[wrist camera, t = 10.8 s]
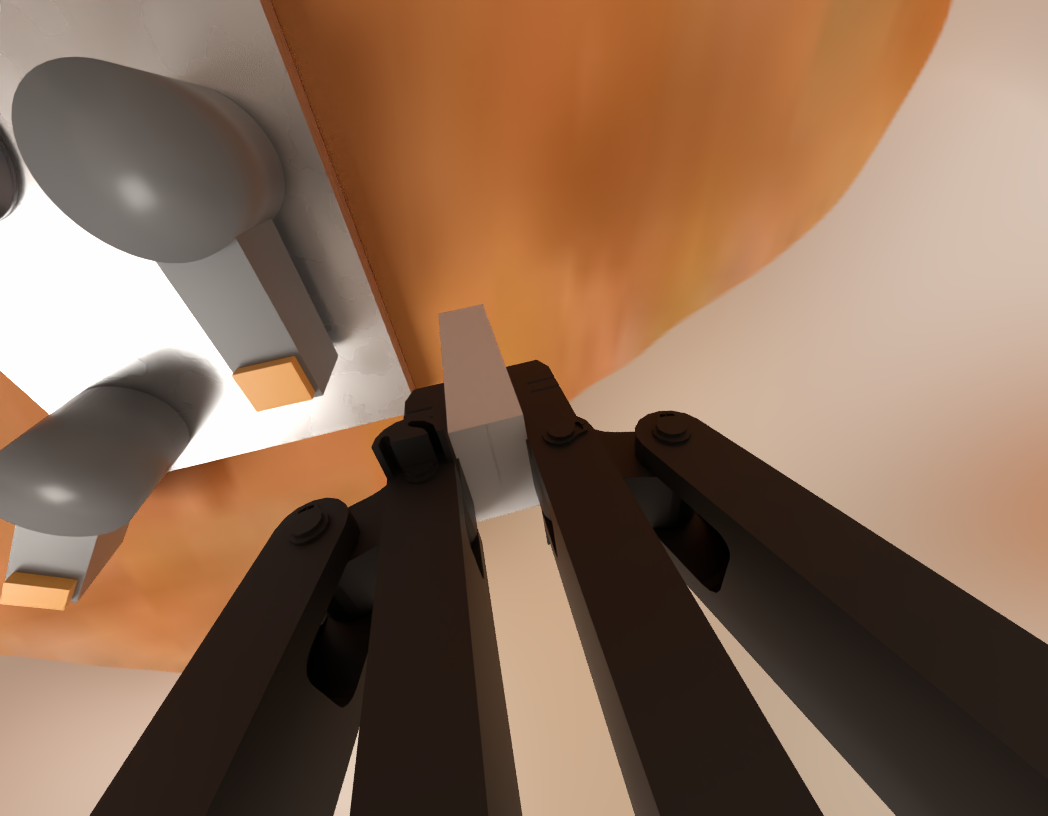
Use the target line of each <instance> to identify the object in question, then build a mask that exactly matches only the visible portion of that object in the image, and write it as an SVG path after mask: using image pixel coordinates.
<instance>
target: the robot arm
mask: <svg viewBox="0 0 1048 816" xmlns="http://www.w3.org/2000/svg"><path fill="white" fill-rule="evenodd" d="M439 326H440V339H441V351H442V364H443V377H444V383H441V384H437V385H433V386H428V387H424V388H420V389H415V390H413V391H412V393H411V394H410V395H409V397H408V398H407V400H406V401H405V408H404V415H405V416H404V420H401V421H399V422H396V423H394V424H393V425H391V426H389V427H388V428H386V429H384V430H383V431H382V432H381V433H380V434H379V435H378V436H377V437H376V438H375V441H374V443H373V445H372V447H371V448H372V450H373V452H374V454H375V456H376V458H377V460H378V462H379V464H380V465H381V467H382V469H383V471H384V473H385V475H386V477H387V485H386V486H385V487H384V488H382V489H381V490H380V491H378V492H377V493H375V494H373V495H372V496H370V497H368V498H366V499H364V500H362V501H360V502H358V503H356V504H354V505H352V506H350V507H347V505H346V504H345V503H343V502H342V501H341V500H339V499H335V498H323V499H319V500H314V501H311V502H309V503H307V504H305V505H303V506H301V507H299V508H298V509H296V510H295V511H294V512H292V513H291V514H290V515H288V516H287V517H286V518H285V519H284V520H283V521H282V522H281V523H280V525H279V526H278V527H277V528H276V529H275V531H274V532H273V534H272V535H271V537H270V539H269V540H268V542H267V543H266V545H265V546H264V548H263V549H262V551H261V552H260V554H259V555H258V557H257V559H256V560H255V562H254V563H253V565H252V566H251V568H250V569H249V571H248V572H247V574H246V575H245V577H244V579H243V580H242V582H241V583H240V585H239V586H238V588H237V589H236V591H235V592H234V594H233V596H232V597H231V599H230V600H229V602H228V603H227V605H226V606H225V608H224V609H223V611H222V612H221V614H220V616H219V617H218V619H217V620H216V622H215V623H214V625H213V626H212V628H211V629H210V631H209V632H208V634H207V636H206V637H205V639H204V640H203V642H202V643H201V645H200V646H199V648H198V649H197V651H196V652H195V654H194V656H193V657H192V659H191V660H190V662H189V663H188V665H187V666H186V668H185V669H184V671H183V673H182V674H181V676H180V677H179V679H178V680H177V682H176V683H175V685H174V686H173V688H172V690H171V691H170V693H169V694H168V696H167V697H166V699H165V700H164V702H163V703H162V705H161V706H160V708H159V709H158V711H157V713H156V714H155V716H154V717H153V719H152V720H151V722H150V723H149V725H148V726H147V728H146V730H145V731H144V733H143V734H142V736H141V737H140V739H139V740H138V742H137V744H136V745H135V747H134V748H133V750H132V751H131V753H130V754H129V756H128V757H127V759H126V760H125V762H124V763H123V765H122V767H121V768H120V770H119V771H118V773H117V774H116V776H115V777H114V779H113V780H112V782H111V784H110V785H109V787H108V788H107V790H106V791H105V793H104V794H103V796H102V797H101V799H100V800H99V802H98V803H97V805H96V807H95V808H94V810H93V811H92V813H91V814H90V816H333V815H334V811H335V808H336V805H337V801H338V798H339V794H340V791H341V788H342V784H343V781H344V778H345V774H346V771H347V767H348V764H349V760H350V757H351V754H352V750H353V746H354V744H355V740H356V737H357V733H358V730H359V737H358V746H357V757H356V764H355V773H354V782H353V791H352V800H351V809H350V816H522V810H521V803H520V797H519V790H518V783H517V776H516V770H515V763H514V756H513V749H512V742H511V736H510V729H509V722H508V715H507V709H506V702H505V695H504V688H503V681H502V675H501V667H500V661H499V654H498V647H497V641H496V634H495V627H494V620H493V613H492V606H491V599H490V593H489V586H488V579H487V572H486V565H485V559H484V552H483V545H482V540H481V537H480V535H479V532H478V529H477V523H476V517H477V520H478V522H479V521H483V520H487V519H490V518H494V517H498V516H502V515H505V514H509V513H513V512H517V511H520V510H524V509H528V508H531V507H535V506H539V503H540V506H541V509H542V514H543V519H544V526H545V531H546V537H547V542H548V545H549V544H551V548H552V551H553V554H554V557H555V560H556V564H557V567H558V570H559V573H560V576H561V579H562V583H563V586H564V589H565V592H566V596H567V599H568V602H569V605H570V608H571V612H572V615H573V618H574V621H575V624H576V628H577V631H578V634H579V637H580V640H581V643H582V647H583V650H584V653H585V656H586V660H587V663H588V666H589V669H590V672H591V676H592V679H593V682H594V685H595V688H596V691H597V695H598V698H599V701H600V704H601V708H602V711H603V714H604V717H605V720H606V724H607V726H608V730H609V733H610V736H611V740H612V743H613V746H614V749H615V752H616V756H617V759H618V762H619V765H620V768H621V771H622V775H623V778H624V781H625V784H626V788H627V791H628V794H629V797H630V800H631V803H632V807H633V810H634V813H635V816H824V815H823V813H822V812H821V810H820V808H819V807H818V805H817V803H816V802H815V800H814V798H813V797H812V795H811V793H810V792H809V790H808V788H807V787H806V785H805V783H804V782H803V780H802V778H801V777H800V775H799V773H798V771H797V770H796V768H795V766H794V765H793V763H792V761H791V760H790V758H789V756H788V755H787V753H786V751H785V750H784V748H783V746H782V745H781V743H780V741H779V740H778V738H777V736H776V735H775V733H774V731H773V729H772V728H771V726H770V724H769V723H768V721H767V719H766V718H765V716H764V714H763V713H762V711H761V709H760V708H759V706H758V704H757V703H756V701H755V699H754V697H753V696H752V694H751V692H750V691H749V689H748V688H747V686H746V684H745V682H744V681H743V679H742V677H741V676H740V674H739V672H738V671H737V669H736V667H735V666H734V664H733V662H732V660H731V659H730V657H729V655H728V654H727V653H726V650H725V649H724V647H723V645H722V644H721V642H720V640H719V639H718V637H717V635H716V634H715V632H714V630H713V629H712V627H711V625H710V623H709V622H708V620H707V618H706V617H705V615H704V613H703V612H702V610H701V608H700V607H699V605H698V603H697V602H696V600H695V598H694V597H693V595H692V593H691V592H690V590H689V588H690V589H691V590H692V591H693V592H694V593H695V595H696V596H697V597H698V598H699V599H700V600H701V601H702V602H703V603H704V604H705V606H706V607H707V608H708V609H709V610H710V611H711V612H712V613H713V614H714V615H715V617H716V618H717V619H718V620H719V621H720V622H721V623H722V624H723V625H724V626H725V628H726V629H727V630H728V631H729V632H730V633H731V634H732V635H733V636H734V637H735V639H736V640H737V641H738V642H739V643H740V644H741V645H742V646H743V647H744V648H745V650H746V651H747V652H748V653H749V654H750V655H751V656H752V657H753V658H754V660H755V661H756V662H757V663H758V664H759V665H760V666H761V667H762V668H763V669H764V671H765V672H766V673H767V674H768V675H769V676H770V677H771V678H772V679H773V681H774V682H775V683H776V684H777V685H778V686H779V687H780V688H781V689H782V690H783V692H784V693H785V694H786V695H787V696H788V697H789V698H790V699H791V700H792V701H793V703H794V704H795V705H796V706H797V707H798V708H799V709H800V710H801V711H802V712H803V714H804V715H805V716H806V717H807V718H808V719H809V720H810V721H811V722H812V723H813V725H814V726H815V727H816V728H817V729H818V730H819V731H820V732H821V733H822V734H823V736H824V737H825V738H826V739H827V740H828V741H829V742H830V743H831V744H832V746H833V747H834V748H835V749H836V750H837V751H838V752H839V753H840V754H841V755H842V757H843V758H844V759H845V760H846V761H847V762H848V763H849V764H850V765H851V766H852V768H853V769H854V770H855V771H856V772H857V773H858V774H859V775H860V776H861V777H862V778H863V780H864V781H865V782H866V783H867V784H868V785H869V786H870V787H871V788H872V790H873V791H874V792H875V793H876V794H877V795H878V796H879V797H880V798H881V800H882V801H883V802H884V803H885V804H886V805H887V806H888V807H889V808H890V809H891V811H892V812H894V814H895V815H896V816H1048V644H1046V643H1045V642H1043V641H1041V640H1040V639H1038V638H1037V637H1035V636H1034V635H1032V634H1031V633H1029V632H1027V631H1026V630H1024V629H1023V628H1021V627H1020V626H1018V625H1017V624H1015V623H1013V622H1012V621H1010V620H1009V619H1007V618H1006V617H1004V616H1003V615H1001V614H1000V613H998V612H996V611H995V610H993V609H992V608H990V607H989V606H987V605H986V604H984V603H983V602H981V601H979V600H978V599H976V598H975V597H973V596H972V595H970V594H969V593H967V592H965V591H964V590H962V589H961V588H959V587H958V586H956V585H954V584H953V583H951V582H950V581H948V580H947V579H945V578H944V577H942V576H941V575H939V574H937V573H936V572H934V571H933V570H931V569H930V568H928V567H927V566H925V565H923V564H922V563H920V562H919V561H917V560H916V559H914V558H912V557H911V556H910V555H908V554H906V553H905V552H903V551H902V550H900V549H899V548H897V547H896V546H894V545H892V544H891V543H889V542H888V541H886V540H885V539H883V538H882V537H880V536H878V535H877V534H875V533H874V532H872V531H871V530H869V529H867V528H866V527H864V526H863V525H861V524H860V523H858V522H857V521H855V520H854V519H852V518H851V517H849V516H847V515H846V514H844V513H843V512H841V511H840V510H838V509H837V508H835V507H833V506H832V505H830V504H829V503H827V502H826V501H824V500H823V499H821V498H819V497H818V496H816V495H815V494H813V493H812V492H810V491H809V490H807V489H805V488H804V487H802V486H801V485H799V484H798V483H796V482H794V481H793V480H791V479H790V478H788V477H787V476H785V475H784V474H782V473H781V472H779V471H777V470H776V469H774V468H773V467H771V466H770V465H768V464H767V463H765V462H764V461H762V460H760V459H759V458H757V457H756V456H754V455H753V454H751V453H750V452H748V451H746V450H745V449H743V448H742V447H740V446H739V445H737V444H736V443H734V442H733V441H731V440H729V439H728V438H726V437H725V436H723V435H722V434H720V433H719V432H717V431H715V430H714V429H712V428H711V427H709V426H707V425H706V424H704V423H703V422H701V421H700V420H698V419H697V418H694V417H692V416H690V415H688V414H686V413H680V412H675V411H658V412H655V413H651V414H648V415H646V416H645V417H643V418H642V419H640V420H639V421H638V424H637V425H636V427H635V432H603V431H599V430H595V429H594V428H593V427H592V426H591V425H590V424H589V423H588V422H587V421H586V420H585V419H582V418H580V417H578V416H576V414H575V413H574V411H573V409H572V408H571V406H570V404H569V402H568V400H567V398H566V397H565V395H564V393H563V391H562V390H561V388H560V387H559V384H558V383H557V381H556V379H555V378H554V375H553V374H552V372H551V370H550V368H549V367H548V366H547V365H545V364H543V363H541V362H540V361H538V360H534V361H529V362H525V363H521V364H517V365H512V366H508V367H505V364H504V361H503V358H502V356H501V353H500V350H499V348H498V345H497V342H496V339H495V337H494V334H493V331H492V328H491V326H490V323H489V320H488V318H487V315H486V312H485V309H484V307H483V304H481V305H477V306H472V307H467V308H463V309H458V310H454V311H449V312H444V313H440V314H439ZM475 514H476V515H475ZM687 586H688V587H689V588H688V587H687ZM359 727H360V728H359Z"/></svg>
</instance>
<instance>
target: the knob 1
mask: <svg viewBox="0 0 1048 816" xmlns="http://www.w3.org/2000/svg"><path fill="white" fill-rule="evenodd" d="M11 120H12V127H13V133H14V137H15V140H16V143H17V147H18V149H19V152H20V154H21V156H22V158H23V161H24V163H25V164H26V166H27V168H28V170H29V171H30V173H31V175H32V177H33V178H34V179H35V181H36V182H37V184H38V185H39V186H40V188H41V189H42V190H43V192H44V193H45V194H46V195H47V196H48V197H49V199H50V200H51V201H52V202H53V203H54V204H55V205H56V206H57V207H58V208H59V209H60V210H61V211H62V212H63V213H64V214H65V215H66V216H67V217H69V218H70V219H71V220H72V221H73V222H75V223H76V224H77V225H78V226H80V227H81V228H82V229H84V230H85V231H87V232H88V233H89V234H91V235H92V236H94V237H96V238H97V239H99V240H101V241H102V242H104V243H106V244H108V245H110V246H112V247H114V248H116V249H118V250H120V251H123V252H125V253H127V254H130V255H133V256H136V257H139V258H142V259H146V260H151V261H155V262H156V264H157V265H158V266H159V268H160V269H161V271H162V272H163V274H164V275H165V277H166V278H167V279H168V281H169V282H170V284H171V285H172V287H173V288H174V289H175V291H176V292H177V294H178V295H179V297H180V298H181V299H182V301H183V302H184V304H185V305H186V307H187V308H188V309H189V311H190V312H191V314H192V315H193V317H194V318H195V320H196V321H197V322H198V324H199V325H200V327H201V328H202V330H203V331H204V332H205V334H206V335H207V337H208V338H209V340H210V341H211V342H212V344H213V345H214V347H215V348H216V350H217V351H218V352H219V354H220V355H221V357H222V358H223V360H224V361H225V363H226V364H227V365H228V367H229V368H230V370H231V371H232V373H233V374H232V375H231V376H232V378H233V379H234V381H235V382H236V384H237V385H238V386H239V388H240V389H241V391H242V392H243V394H244V395H245V396H246V398H247V399H248V401H249V402H250V403H251V405H252V406H253V408H254V409H255V411H256V412H261V411H265V410H270V409H274V408H278V407H283V406H287V405H291V404H295V403H300V402H304V401H308V400H312V399H313V398H314V397H319V396H323V395H324V392H325V389H326V387H327V384H328V382H329V379H330V377H331V374H332V371H333V369H334V366H335V364H336V361H337V359H338V354H337V352H336V350H335V348H334V346H333V343H332V341H331V339H330V337H329V335H328V333H327V331H326V329H325V327H324V325H323V323H322V321H321V319H320V317H319V315H318V313H317V311H316V309H315V307H314V305H313V303H312V300H311V298H310V296H309V294H308V292H307V290H306V288H305V286H304V284H303V282H302V280H301V278H300V276H299V274H298V272H297V270H296V268H295V266H294V264H293V262H292V260H291V258H290V255H289V253H288V251H287V249H286V247H285V245H284V243H283V241H282V239H281V237H280V235H279V233H278V231H277V229H276V227H275V225H274V223H273V221H272V220H273V219H274V218H275V217H276V215H277V214H278V212H279V210H280V208H281V206H282V203H283V199H284V193H285V180H284V173H283V169H282V165H281V162H280V159H279V157H278V154H277V152H276V150H275V148H274V146H273V144H272V143H271V141H270V139H269V138H268V136H267V135H266V133H265V132H264V131H263V129H262V128H261V127H260V125H259V124H258V123H257V122H256V121H255V120H254V119H253V118H252V117H251V116H250V115H249V114H248V113H247V112H246V111H245V110H244V109H243V108H241V107H240V106H239V105H237V104H236V103H235V102H233V101H232V100H230V99H229V98H227V97H225V96H224V95H222V94H220V93H218V92H216V91H214V90H212V89H209V88H206V87H204V86H201V85H197V84H193V83H189V82H185V81H182V80H178V79H174V78H170V77H166V76H162V75H158V74H154V73H150V72H147V71H143V70H139V69H135V68H131V67H127V66H123V65H119V64H116V63H112V62H108V61H103V60H99V59H94V58H86V57H61V58H57V59H53V60H49V61H46V62H44V63H42V64H40V65H37V66H36V67H34V68H33V69H32V70H31V71H29V72H28V73H27V74H26V75H25V76H24V78H23V79H22V80H21V81H20V83H19V85H18V87H17V89H16V91H15V93H14V97H13V102H12V112H11Z"/></svg>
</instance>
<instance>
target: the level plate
mask: <svg viewBox="0 0 1048 816" xmlns="http://www.w3.org/2000/svg"><path fill="white" fill-rule="evenodd" d="M61 57H86V58H94V59H99V60H103V61H108V62H112V63H116V64H119V65H123V66H127V67H131V68H135V69H139V70H143V71H147V72H150V73H154V74H158V75H162V76H166V77H170V78H174V79H178V80H182V81H185V82H189V83H193V84H197V85H201V86H204V87H206V88H209V89H212V90H214V91H216V92H218V93H220V94H222V95H224V96H225V97H227V98H229V99H230V100H232V101H233V102H235V103H236V104H237V105H239V106H240V107H241V108H243V109H244V110H245V111H246V112H247V113H248V114H249V115H250V116H251V117H252V118H253V119H254V120H255V121H256V122H257V123H258V124H259V125H260V127H261V128H262V129H263V131H264V132H265V133H266V135H267V136H268V138H269V139H270V141H271V143H272V144H273V146H274V148H275V150H276V152H277V154H278V157H279V159H280V162H281V165H282V169H283V173H284V180H285V193H284V199H283V203H282V206H281V208H280V210H279V212H278V214H277V215H276V217H275V218H274V219H273V220H272V221H273V223H274V225H275V227H276V229H277V231H278V233H279V235H280V237H281V239H282V241H283V243H284V245H285V247H286V249H287V251H288V253H289V255H290V258H291V260H292V262H293V264H294V266H295V268H296V270H297V272H298V274H299V276H300V278H301V280H302V282H303V284H304V286H305V288H306V290H307V292H308V294H309V296H310V298H311V300H312V303H313V305H314V307H315V309H316V311H317V313H318V315H319V317H320V319H321V321H322V323H323V325H324V327H325V329H326V331H327V333H328V335H329V337H330V339H331V341H332V343H333V346H334V348H335V350H336V352H337V354H338V359H337V361H336V364H335V366H334V369H333V371H332V374H331V377H330V379H329V382H328V384H327V387H326V389H325V392H324V395H323V396H319V397H314V398H313V399H312V400H308V401H304V402H300V403H295V404H291V405H287V406H283V407H278V408H274V409H270V410H265V411H261V412H256V411H255V409H254V408H253V406H252V405H251V403H250V402H249V401H248V399H247V398H246V396H245V395H244V394H243V392H242V391H241V389H240V388H239V386H238V385H237V384H236V382H235V381H234V379H233V378H232V376H231V375H232V374H233V373H232V371H231V370H230V368H229V367H228V365H227V364H226V363H225V361H224V360H223V358H222V357H221V355H220V354H219V352H218V351H217V350H216V348H215V347H214V345H213V344H212V342H211V341H210V340H209V338H208V337H207V335H206V334H205V332H204V331H203V330H202V328H201V327H200V325H199V324H198V322H197V321H196V320H195V318H194V317H193V315H192V314H191V312H190V311H189V309H188V308H187V307H186V305H185V304H184V302H183V301H182V299H181V298H180V297H179V295H178V294H177V292H176V291H175V289H174V288H173V287H172V285H171V284H170V282H169V281H168V279H167V278H166V277H165V275H164V274H163V272H162V271H161V269H160V268H159V266H158V265H157V264H156V262H155V261H151V260H146V259H142V258H139V257H136V256H133V255H130V254H127V253H125V252H123V251H120V250H118V249H116V248H114V247H112V246H110V245H108V244H106V243H104V242H102V241H101V240H99V239H97V238H96V237H94V236H92V235H91V234H89V233H88V232H87V231H85V230H84V229H82V228H81V227H80V226H78V225H77V224H76V223H75V222H73V221H72V220H71V219H70V218H69V217H67V216H66V215H65V214H64V213H63V212H62V211H61V210H60V209H59V208H58V207H57V206H56V205H55V204H54V203H53V202H52V201H51V200H50V199H49V197H48V196H47V195H46V194H45V193H44V192H43V190H42V189H41V188H40V186H39V185H38V184H37V182H36V181H35V179H34V178H33V177H32V175H31V173H30V171H29V170H28V168H27V166H26V164H25V163H24V161H23V158H22V156H21V154H20V152H19V149H18V147H17V143H16V140H15V137H14V133H13V127H12V120H11V112H12V102H13V97H14V93H15V91H16V89H17V87H18V85H19V83H20V81H21V80H22V79H23V78H24V76H25V75H26V74H27V73H28V72H29V71H31V70H32V69H33V68H34V67H36V66H37V65H40V64H42V63H44V62H46V61H49V60H53V59H57V58H61ZM0 370H1V371H2V372H3V373H4V374H5V375H6V376H8V377H9V378H10V379H11V380H12V381H13V382H14V383H15V384H16V385H18V386H19V387H20V388H21V389H22V390H23V391H24V392H25V393H27V394H28V395H29V396H30V397H31V398H32V399H33V400H34V401H35V402H37V403H38V404H39V405H40V406H41V407H42V408H43V409H44V410H46V411H47V412H48V413H49V414H51V413H52V412H53V411H55V410H56V409H58V408H59V407H60V406H62V405H63V404H64V403H66V402H67V401H68V400H70V399H71V398H73V397H74V396H75V395H77V394H78V393H80V392H82V391H85V390H88V389H91V388H97V387H108V386H109V387H122V388H128V389H133V390H137V391H140V392H144V393H146V394H149V395H151V396H153V397H156V398H158V399H160V400H161V401H163V402H165V403H166V404H168V405H169V406H171V407H172V408H173V409H174V410H175V411H177V412H178V414H179V415H180V416H181V417H182V418H183V419H184V421H185V423H186V424H187V427H188V429H189V435H190V437H189V443H188V445H187V447H186V449H185V450H184V451H183V452H182V454H181V455H180V456H179V458H178V459H177V460H176V461H175V463H174V464H173V465H172V467H171V468H170V469H169V471H173V470H177V469H181V468H185V467H189V466H193V465H198V464H202V463H206V462H210V461H214V460H218V459H222V458H226V457H231V456H235V455H239V454H243V453H247V452H251V451H255V450H260V449H264V448H268V447H272V446H276V445H280V444H284V443H288V442H293V441H297V440H301V439H305V438H309V437H313V436H317V435H322V434H326V433H330V432H334V431H338V430H342V429H346V428H350V427H355V426H359V425H363V424H367V423H371V422H375V421H379V420H383V419H388V418H392V417H396V416H400V415H404V408H405V401H406V400H407V398H408V397H409V395H410V394H411V393H412V391H413V390H415V389H416V388H415V386H414V383H413V380H412V378H411V375H410V372H409V370H408V367H407V364H406V362H405V359H404V356H403V354H402V351H401V348H400V346H399V343H398V340H397V337H396V335H395V332H394V329H393V327H392V324H391V321H390V319H389V316H388V313H387V311H386V308H385V305H384V303H383V300H382V297H381V295H380V292H379V289H378V287H377V284H376V281H375V279H374V276H373V273H372V271H371V268H370V265H369V263H368V260H367V257H366V255H365V252H364V249H363V247H362V244H361V241H360V238H359V236H358V233H357V230H356V228H355V225H354V222H353V220H352V217H351V214H350V212H349V209H348V206H347V204H346V201H345V198H344V196H343V193H342V190H341V188H340V185H339V182H338V180H337V177H336V174H335V172H334V169H333V166H332V164H331V161H330V158H329V156H328V153H327V150H326V148H325V145H324V142H323V139H322V137H321V134H320V131H319V129H318V126H317V123H316V121H315V118H314V115H313V113H312V110H311V107H310V105H309V102H308V99H307V97H306V94H305V91H304V89H303V86H302V83H301V81H300V78H299V75H298V73H297V70H296V67H295V65H294V62H293V59H292V57H291V54H290V51H289V49H288V46H287V43H286V40H285V38H284V35H283V32H282V30H281V27H280V24H279V22H278V19H277V16H276V14H275V11H274V8H273V6H272V3H271V0H0ZM169 471H168V472H169Z"/></svg>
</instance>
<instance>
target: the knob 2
mask: <svg viewBox="0 0 1048 816" xmlns="http://www.w3.org/2000/svg"><path fill="white" fill-rule="evenodd" d="M189 437H190V435H189V429H188V427H187V424H186V423H185V421H184V419H183V418H182V417H181V416H180V415H179V414H178V412H177V411H175V410H174V409H173V408H172V407H171V406H169V405H168V404H166V403H165V402H163V401H161V400H160V399H158V398H156V397H153V396H151V395H149V394H146V393H144V392H140V391H137V390H133V389H128V388H122V387H109V386H108V387H97V388H91V389H88V390H85V391H82V392H80V393H78V394H77V395H75V396H74V397H73V398H71V399H70V400H68V401H67V402H66V403H64V404H63V405H62V406H60V407H59V408H58V409H56V410H55V411H53V412H52V413H51V414H49V415H48V416H47V417H45V418H44V419H43V420H41V421H40V422H38V423H37V424H36V425H34V426H33V427H32V428H30V429H29V430H27V431H26V432H25V433H23V434H22V435H21V436H19V437H18V438H17V439H15V440H14V441H12V442H11V443H10V444H8V445H7V446H6V447H4V448H3V449H1V450H0V518H1V519H3V520H5V521H7V522H10V523H12V524H14V525H15V531H14V536H13V542H12V547H11V553H10V558H9V564H8V569H7V574H6V580H5V582H4V583H3V589H2V594H1V600H0V604H6V605H16V606H26V607H36V608H46V609H57V610H64V609H65V608H66V607H67V605H68V604H69V603H70V602H76V603H77V602H78V600H79V599H80V598H81V596H82V595H83V594H84V592H85V591H86V590H87V588H88V587H89V586H90V584H91V583H92V582H93V580H94V579H95V578H96V576H97V575H98V574H99V572H100V571H101V570H102V568H103V567H104V566H105V564H106V563H107V562H108V560H109V559H110V558H111V556H112V555H113V554H114V552H115V551H116V550H117V548H118V547H119V546H120V544H121V543H122V542H123V539H124V536H125V533H126V531H127V528H128V525H129V522H130V520H131V519H132V517H133V516H134V515H135V513H136V512H137V511H138V509H139V508H140V507H141V506H142V504H143V503H144V502H145V500H146V499H147V498H148V497H149V495H150V494H151V493H152V491H153V490H154V489H155V487H156V486H157V485H158V484H159V482H160V481H161V480H162V478H163V477H164V476H165V474H166V473H167V472H168V471H169V469H170V468H171V467H172V465H173V464H174V463H175V461H176V460H177V459H178V458H179V456H180V455H181V454H182V452H183V451H184V450H185V449H186V447H187V445H188V443H189Z"/></svg>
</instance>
